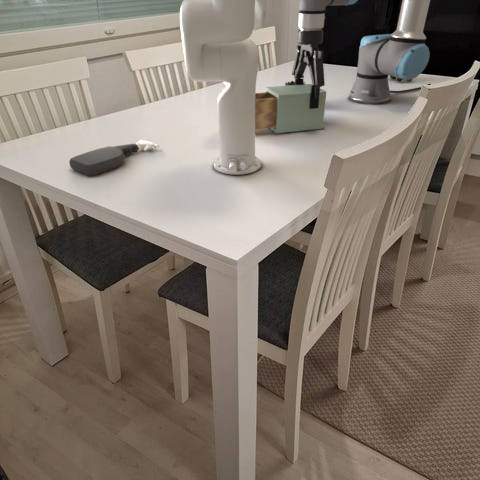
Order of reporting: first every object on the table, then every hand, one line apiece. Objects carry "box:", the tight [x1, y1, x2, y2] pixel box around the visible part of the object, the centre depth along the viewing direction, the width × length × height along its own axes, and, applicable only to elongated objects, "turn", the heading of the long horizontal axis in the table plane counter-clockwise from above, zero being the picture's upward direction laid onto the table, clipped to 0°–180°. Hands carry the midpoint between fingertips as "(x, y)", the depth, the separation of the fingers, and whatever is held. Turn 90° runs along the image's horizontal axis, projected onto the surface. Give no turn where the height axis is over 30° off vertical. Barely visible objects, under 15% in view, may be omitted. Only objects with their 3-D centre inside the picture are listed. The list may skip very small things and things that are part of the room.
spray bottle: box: [68, 139, 160, 177], centre depth 124 cm, size 3×11×24 cm
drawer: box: [255, 91, 277, 131], centre depth 140 cm, size 21×10×10 cm, turn 109°
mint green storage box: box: [264, 83, 327, 134], centre depth 144 cm, size 16×11×12 cm
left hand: (234, 111), depth 138 cm, fingers closed
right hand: (305, 103), depth 144 cm, fingers closed on mint green storage box, 11 cm apart
